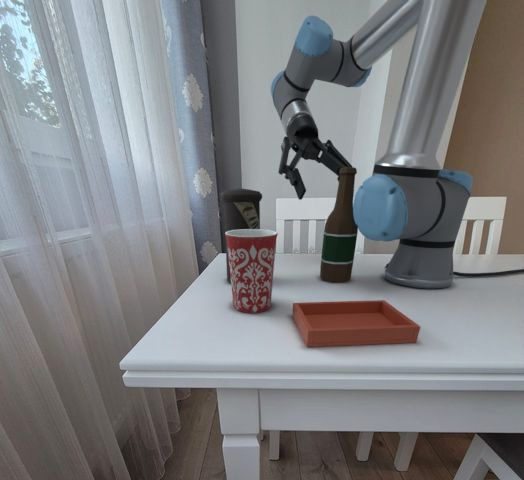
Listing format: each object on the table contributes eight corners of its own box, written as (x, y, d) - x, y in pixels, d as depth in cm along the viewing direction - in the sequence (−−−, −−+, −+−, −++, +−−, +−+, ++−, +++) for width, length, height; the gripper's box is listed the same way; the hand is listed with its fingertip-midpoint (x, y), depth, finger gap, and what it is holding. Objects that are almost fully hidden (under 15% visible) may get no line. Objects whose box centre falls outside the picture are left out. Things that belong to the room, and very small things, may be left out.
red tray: (381, 313, 54) (384, 300, 52) (416, 342, 44) (420, 326, 42) (292, 316, 52) (292, 302, 51) (306, 347, 42) (308, 331, 41)
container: (255, 287, 68) (254, 188, 58) (219, 284, 70) (213, 188, 60) (266, 278, 75) (267, 188, 65) (234, 275, 77) (230, 188, 68)
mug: (280, 313, 53) (282, 235, 47) (230, 316, 52) (226, 236, 46) (268, 292, 64) (269, 226, 58) (227, 294, 63) (223, 227, 57)
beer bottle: (313, 276, 76) (322, 168, 64) (338, 273, 79) (351, 168, 67) (330, 284, 70) (344, 166, 58) (357, 281, 73) (375, 167, 61)
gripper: (333, 144, 83) (359, 205, 79) (251, 139, 75) (275, 207, 70) (347, 117, 77) (377, 182, 72) (259, 108, 68) (286, 181, 63)
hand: (327, 195), depth 71 cm, fingers open, 13 cm apart
